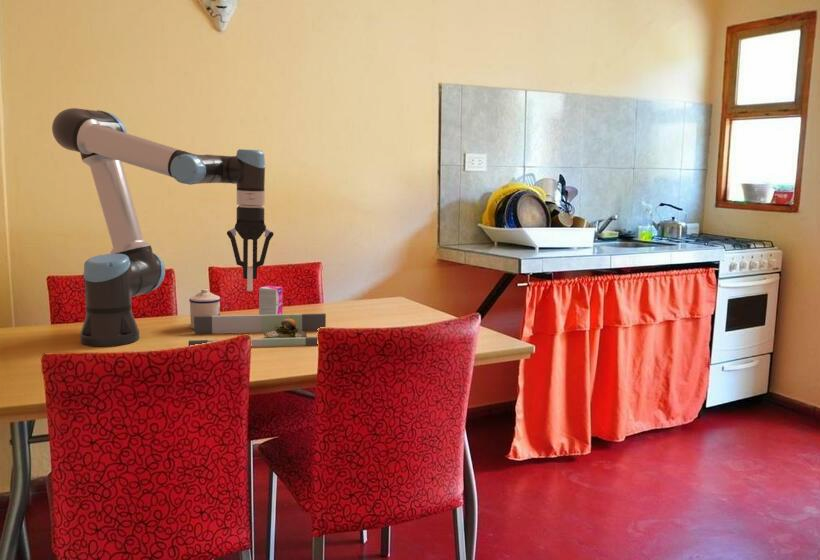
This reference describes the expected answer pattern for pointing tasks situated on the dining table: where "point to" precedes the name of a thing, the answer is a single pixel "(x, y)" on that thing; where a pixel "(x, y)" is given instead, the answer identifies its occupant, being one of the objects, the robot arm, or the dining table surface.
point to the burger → (286, 330)
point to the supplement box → (270, 300)
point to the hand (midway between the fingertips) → (249, 290)
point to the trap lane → (259, 327)
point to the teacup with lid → (204, 305)
